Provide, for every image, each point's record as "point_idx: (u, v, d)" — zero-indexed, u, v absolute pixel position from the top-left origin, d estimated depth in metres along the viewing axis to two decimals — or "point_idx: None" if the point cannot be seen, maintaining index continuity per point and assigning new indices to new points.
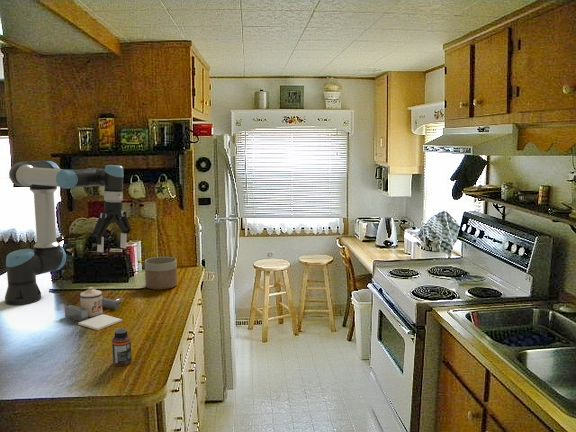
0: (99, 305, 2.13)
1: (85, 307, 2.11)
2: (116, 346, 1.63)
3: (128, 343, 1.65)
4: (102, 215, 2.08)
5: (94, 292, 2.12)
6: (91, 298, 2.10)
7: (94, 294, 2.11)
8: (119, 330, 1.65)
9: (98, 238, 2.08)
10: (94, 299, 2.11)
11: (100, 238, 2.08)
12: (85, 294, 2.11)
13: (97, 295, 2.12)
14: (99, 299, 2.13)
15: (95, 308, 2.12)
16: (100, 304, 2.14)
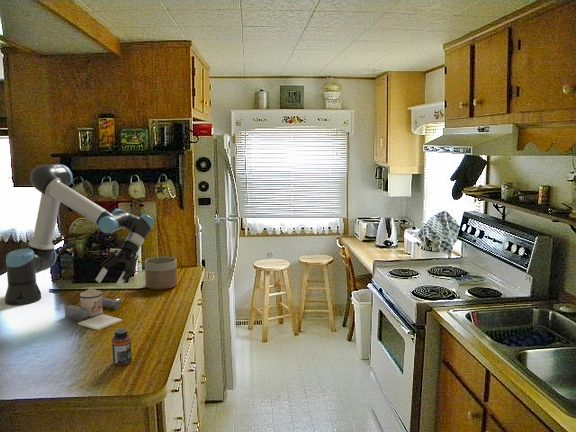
0: (99, 305, 2.13)
1: (85, 307, 2.11)
2: (116, 346, 1.63)
3: (128, 343, 1.65)
4: (137, 256, 2.25)
5: (94, 292, 2.12)
6: (91, 298, 2.10)
7: (94, 294, 2.11)
8: (119, 330, 1.65)
9: (128, 274, 2.20)
10: (94, 299, 2.11)
11: None
12: (85, 294, 2.11)
13: (97, 295, 2.12)
14: (99, 299, 2.13)
15: (95, 308, 2.12)
16: (100, 304, 2.14)
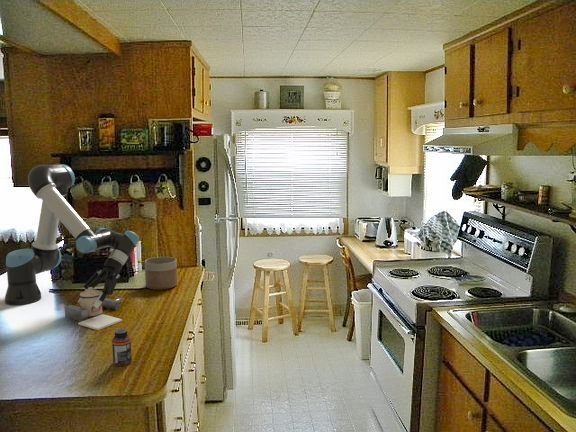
0: None
1: (85, 307, 2.11)
2: (116, 345, 1.63)
3: (128, 343, 1.65)
4: (119, 276, 2.18)
5: (94, 292, 2.12)
6: (91, 298, 2.10)
7: (94, 294, 2.11)
8: (119, 330, 1.65)
9: (105, 295, 2.13)
10: (93, 299, 2.11)
11: None
12: (85, 294, 2.11)
13: (97, 295, 2.12)
14: None
15: (95, 308, 2.12)
16: None
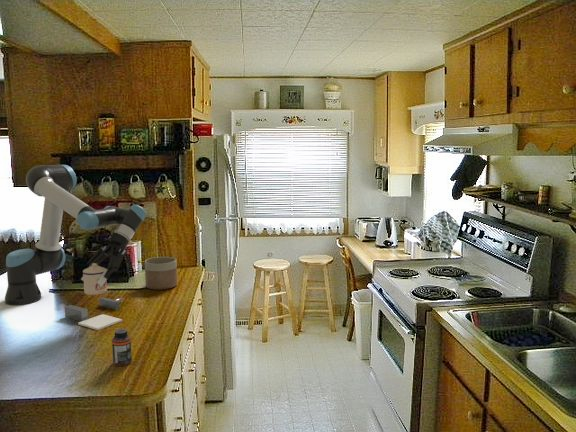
0: None
1: (88, 284, 1.96)
2: (116, 346, 1.63)
3: (128, 343, 1.65)
4: (125, 252, 2.04)
5: (98, 268, 1.98)
6: (95, 274, 1.96)
7: (98, 270, 1.97)
8: (119, 330, 1.65)
9: (110, 272, 1.99)
10: (97, 276, 1.97)
11: None
12: (88, 270, 1.97)
13: (101, 271, 1.98)
14: None
15: (99, 286, 1.98)
16: None
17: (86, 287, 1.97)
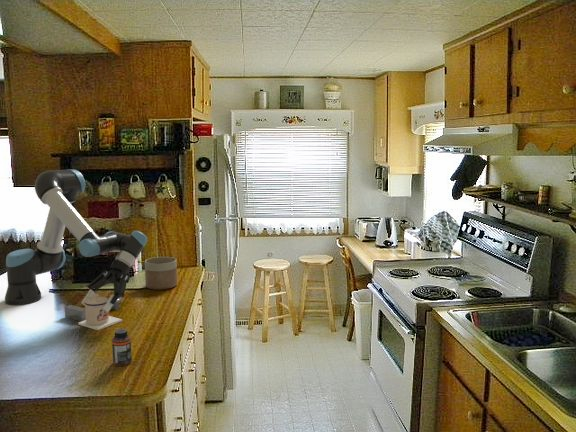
0: (105, 313, 2.01)
1: (90, 315, 1.98)
2: (116, 346, 1.63)
3: (128, 343, 1.65)
4: (127, 278, 2.06)
5: (100, 299, 2.00)
6: (97, 306, 1.98)
7: (100, 301, 1.99)
8: (119, 330, 1.65)
9: (116, 298, 2.00)
10: (99, 307, 1.99)
11: None
12: (90, 301, 1.98)
13: (103, 302, 1.99)
14: None
15: (101, 317, 1.99)
16: (106, 312, 2.01)
17: (88, 318, 1.99)
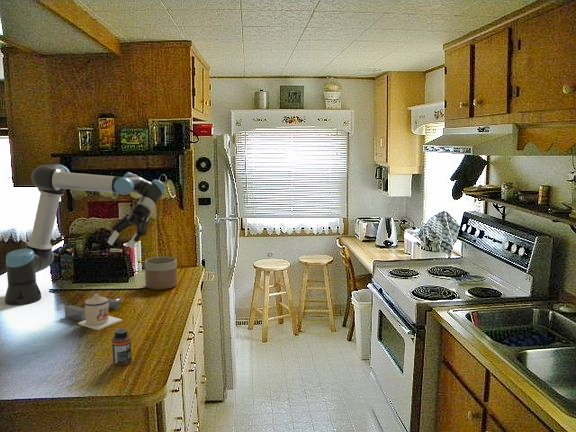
0: (104, 313, 2.01)
1: (90, 315, 1.98)
2: (116, 346, 1.63)
3: (128, 343, 1.65)
4: (148, 220, 2.28)
5: (100, 299, 2.00)
6: (96, 305, 1.98)
7: (99, 301, 1.99)
8: (119, 330, 1.65)
9: (139, 236, 2.22)
10: (99, 307, 1.99)
11: None
12: (90, 301, 1.99)
13: (103, 302, 1.99)
14: (105, 307, 2.01)
15: (100, 317, 1.99)
16: (106, 312, 2.01)
17: (88, 318, 1.99)
